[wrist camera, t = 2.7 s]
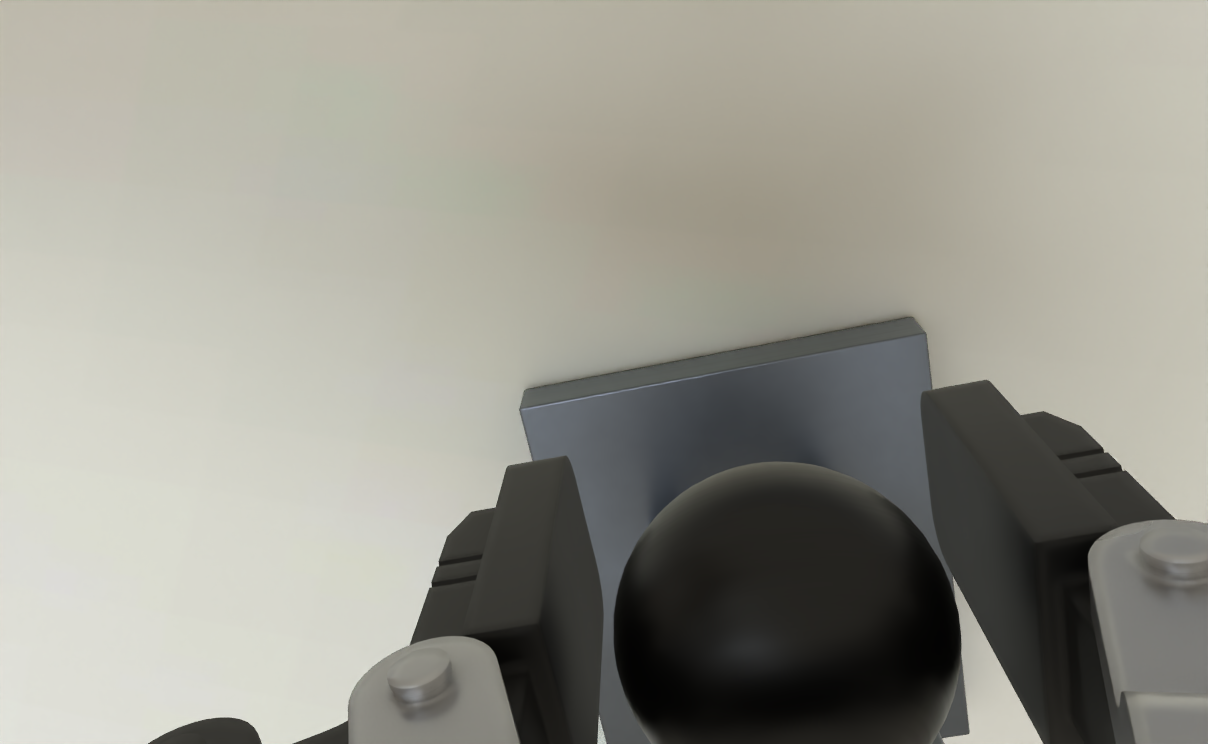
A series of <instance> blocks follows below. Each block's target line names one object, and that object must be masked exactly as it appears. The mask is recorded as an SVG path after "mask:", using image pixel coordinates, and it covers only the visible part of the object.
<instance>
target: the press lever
mask: <svg viewBox="0 0 1208 744" xmlns="http://www.w3.org/2000/svg"><path fill="white" fill-rule="evenodd" d="M614 653H615V660H616V667H617V670H618V674H619V678H620V681H621V685H622V688H623V691H624V695H625V698H626V700H627V702H628V704H629V706H630V708H631V711H632V713H633V715H634V717H635V719H636V720H637V722H638V724H639V726H640V727H641V729H642V730H643V732H644V733H645V735H646V736H647V738H648V740H649V741H650V743H651V744H932V743H933V741H934V740H935V738H936V736H937V734H938V733H939V731H940V729H941V727H942V726H943V724H944V722H945V720H946V718H947V715H948V712H949V710H950V707H951V704H952V702H953V699H954V696H955V691H956V687H957V682H958V677H959V671H960V666H961V631H960V622H959V613H958V609H957V605H956V602H955V598H954V594H953V591H952V588H951V585H950V582H949V579H948V577H947V575H946V572H945V570H944V568H943V566H942V563H941V561H940V560H939V558H938V556H937V555H936V553H935V552H934V550H933V549H932V547H931V545H930V544H929V542H928V541H927V539H926V537H925V536H924V534H923V533H922V532H921V531H920V530H919V528H918V527H917V526H916V525H915V524H914V523H913V522H912V520H911V519H910V518H909V517H908V516H907V515H906V514H905V513H904V512H903V511H902V510H901V509H900V508H898V507H897V506H896V505H895V504H894V503H892V502H891V501H890V500H889V499H888V498H886V497H885V496H883V495H882V494H881V493H879V492H878V491H876V490H875V489H873V488H871V487H869V486H868V485H866V484H864V483H863V482H861V481H859V480H857V479H855V478H853V477H851V476H848V475H845V474H842V473H839V472H837V471H834V470H831V469H828V468H825V467H821V466H817V465H812V464H805V463H797V462H777V461H776V462H761V463H753V464H747V465H743V466H738V467H735V468H731V469H728V470H725V471H722V472H720V473H717V474H715V475H712V476H710V477H708V478H706V479H705V480H703V481H701V482H699V483H697V484H695V485H693V486H691V487H690V488H688V489H687V490H685V491H684V492H682V493H681V494H680V495H679V496H677V497H676V498H675V499H674V500H672V501H671V502H670V503H669V504H668V505H667V506H666V507H665V508H664V509H663V510H662V511H661V512H660V513H659V514H658V515H657V516H656V517H655V518H654V519H653V520H652V522H651V523H650V524H649V526H648V527H647V529H646V530H645V531H644V533H643V534H642V535H641V537H640V538H639V540H638V541H637V543H636V545H635V547H634V549H633V551H632V553H631V555H630V557H629V559H628V561H627V563H626V566H625V568H624V571H623V574H622V577H621V581H620V584H619V588H618V592H617V596H616V602H615V609H614Z"/></svg>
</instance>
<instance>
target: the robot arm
mask: <svg viewBox="0 0 1208 744" xmlns="http://www.w3.org/2000/svg"><path fill="white" fill-rule="evenodd" d="M920 409H921V420H922V429H923V438H924V447H925V456H926V464H927V473H928V482H929V491H930V500H931V508H932V515H933V521H934V526H935V530H936V535H937V538H938V542H939V545H940V548H941V551H942V554H943V557H944V559H945V561H946V563H947V565H948V567H949V569H950V571H951V573H952V575H953V577H954V578H955V580H956V582H957V584H958V586H959V588H960V590H961V591H962V593H963V595H964V597H965V599H966V601H967V603H968V604H969V606H970V608H971V610H972V612H973V614H974V616H975V617H976V619H977V621H978V623H979V625H980V627H981V629H982V630H983V632H984V634H985V636H986V638H987V640H988V642H989V643H990V645H991V647H992V649H993V651H994V653H995V655H996V656H997V658H998V660H999V662H1000V664H1001V666H1002V668H1003V669H1004V671H1005V673H1006V675H1007V677H1008V679H1009V681H1010V682H1011V684H1012V686H1013V688H1014V690H1015V692H1016V694H1017V695H1018V697H1019V699H1020V701H1021V703H1022V705H1023V707H1024V708H1025V710H1026V712H1027V714H1028V716H1029V718H1030V720H1031V721H1032V723H1033V725H1034V727H1035V729H1036V731H1037V733H1038V734H1039V736H1040V738H1041V740H1042V742H1043V744H1208V523H1202V522H1196V521H1186V520H1176V519H1175V518H1174V517H1173V516H1172V515H1171V514H1169V513H1168V512H1167V511H1166V510H1165V509H1164V508H1163V507H1162V506H1161V505H1160V504H1159V503H1158V502H1157V501H1156V500H1155V499H1154V498H1153V497H1152V496H1151V495H1150V494H1149V493H1148V492H1147V491H1146V490H1145V489H1144V488H1143V487H1142V486H1141V485H1140V484H1139V483H1138V482H1137V481H1136V480H1135V479H1134V478H1133V477H1132V476H1131V475H1130V474H1129V473H1128V472H1127V471H1122V468H1121V465H1120V464H1119V463H1118V462H1117V461H1116V460H1115V459H1114V458H1113V457H1112V456H1111V455H1110V454H1109V453H1108V452H1107V453H1104V451H1103V448H1102V447H1101V446H1100V445H1099V444H1098V443H1097V442H1096V441H1095V440H1094V439H1093V438H1092V437H1091V436H1090V435H1089V434H1088V433H1087V432H1086V431H1085V430H1084V429H1083V428H1082V427H1081V426H1079V425H1076V424H1074V423H1071V422H1069V421H1066V420H1064V419H1061V418H1059V417H1056V416H1054V415H1052V414H1049V413H1047V412H1044V411H1043V412H1037V413H1031V414H1026V415H1020V414H1019V413H1018V412H1017V411H1016V410H1015V409H1014V408H1013V407H1012V405H1011V404H1010V403H1009V402H1008V401H1007V400H1006V399H1005V398H1004V397H1003V395H1002V394H1001V393H1000V392H999V391H998V390H997V389H996V388H995V387H994V385H993V384H992V383H991V382H990V381H988V380H983V381H977V382H972V383H966V384H961V385H955V386H949V387H944V388H938V389H933V390H927V391H923V392H922V394H921V400H920ZM431 583H432V588H429V591H428V594H427V597H426V600H425V603H424V605H423V608H422V611H421V614H420V617H419V620H418V623H417V626H416V629H415V631H414V634H413V637H412V640H411V643H410V645H409V646H407V647H404V648H402V649H400V650H398V651H396V652H394V653H392V654H391V655H389V656H387V657H386V658H384V659H383V660H381V661H380V662H378V663H377V664H376V665H374V666H373V667H372V668H371V669H370V670H369V671H368V672H367V673H366V674H364V676H363V677H362V678H361V679H360V680H359V682H358V683H357V684H356V686H355V688H354V689H353V691H352V693H351V696H350V699H349V704H348V721H346V722H344V723H343V724H341V725H339V726H337V727H334V728H332V729H330V730H327V731H325V732H323V733H320V734H317V735H315V736H312V737H309V738H307V739H304V740H302V741H299V742H296V743H294V744H597V738H598V719H599V700H600V681H601V662H602V643H603V624H604V609H603V597H602V589H601V583H600V577H599V572H598V567H597V563H596V559H595V555H594V551H593V547H592V543H591V539H590V535H589V531H588V527H587V523H586V519H585V515H584V511H583V507H582V503H581V498H580V494H579V490H578V486H577V482H576V478H575V475H574V471H573V468H572V465H571V462H570V460H569V458H568V457H567V456H566V455H565V456H560V457H554V458H549V459H543V460H538V461H532V462H526V463H521V464H515V465H510V466H508V467H507V469H506V472H505V475H504V479H503V483H502V486H501V490H500V494H499V497H498V501H497V505H496V508H491V509H485V510H479V511H474V512H471V513H470V514H469V515H468V516H467V517H466V518H465V519H464V520H463V521H462V522H461V523H460V524H459V525H458V526H457V527H456V528H455V529H454V530H453V531H452V532H451V533H450V534H449V535H448V536H447V539H446V542H445V545H444V548H443V551H442V553H441V556H440V559H439V567H437V568H436V571H435V574H434V577H433V579H432V582H431ZM148 744H262V743H261V740H260V738H259V736H258V733H257V732H256V730H255V728H254V727H253V726H252V725H250V724H249V723H248V722H245V721H243V720H240V719H235V718H213V719H206V720H202V721H198V722H194V723H191V724H188V725H185V726H182V727H179V728H177V729H175V730H173V731H170V732H168V733H166V734H164V735H162V736H160V737H159V738H157V739H155V740H153V741H152V742H150V743H148Z"/></svg>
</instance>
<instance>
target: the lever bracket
mask: <svg viewBox="0 0 1208 744" xmlns="http://www.w3.org/2000/svg"><path fill="white" fill-rule="evenodd" d="M927 390H932V381H931V371H930V362H929V353H928V344H927V334H926V332H925V331H924V330H923V329H922V328H921V326H920V325H919V324H918V323H917V322H916V321H915V319H914V318H913V317H909V318H904V319H898V320H893V321H888V322H883V323H877V324H872V325H867V326H861V327H856V328H851V329H845V330H840V331H835V332H830V333H824V334H819V335H814V336H808V337H803V338H798V339H792V340H787V341H782V342H776V343H771V344H766V345H761V346H755V347H750V348H745V349H739V350H734V351H729V352H723V353H718V354H713V355H708V356H702V357H697V358H692V359H686V360H681V361H676V362H670V363H665V364H660V365H655V366H649V367H644V368H639V369H633V370H628V371H623V372H617V373H612V374H607V375H602V376H596V377H591V378H586V379H580V380H575V381H570V382H564V383H559V384H554V385H549V386H543V387H538V388H533V389H527V390H525V391H524V394H523V398H522V401H521V405H520V409H519V411H520V415H521V418H522V422H523V426H524V430H525V434H526V437H527V441H528V445H529V449H530V453H531V457H532V460H533V461H538V460H543V459H549V458H554V457H560V456H565V455H566V456H567V457H568V458H569V460H570V462H571V465H572V468H573V471H574V475H575V478H576V482H577V486H578V490H579V494H580V498H581V503H582V507H583V511H584V515H585V519H586V523H587V527H588V531H589V535H590V539H591V543H592V547H593V551H594V555H595V559H596V563H597V567H598V572H599V577H600V583H601V589H602V597H603V609H604V624H603V643H602V662H601V681H600V700H599V716H600V720H601V724H602V728H603V731H604V735H605V739H606V743H607V744H651V743H650V741H649V740H648V738H647V736H646V735H645V733H644V732H643V730H642V729H641V727H640V726H639V724H638V722H637V720H636V719H635V717H634V715H633V713H632V711H631V708H630V706H629V704H628V702H627V700H626V698H625V695H624V691H623V688H622V685H621V681H620V678H619V674H618V670H617V667H616V660H615V653H614V609H615V602H616V596H617V592H618V588H619V584H620V581H621V577H622V574H623V571H624V568H625V566H626V563H627V561H628V559H629V557H630V555H631V553H632V551H633V549H634V547H635V545H636V543H637V541H638V540H639V538H640V537H641V535H642V534H643V533H644V531H645V530H646V529H647V527H648V526H649V524H650V523H651V522H652V520H653V519H654V518H655V517H656V516H657V515H658V514H659V513H660V512H661V511H662V510H663V509H664V508H665V507H666V506H667V505H668V504H669V503H670V502H671V501H672V500H674V499H675V498H676V497H677V496H679V495H680V494H681V493H682V492H684V491H685V490H687V489H688V488H690V487H691V486H693V485H695V484H697V483H699V482H701V481H703V480H705V479H706V478H708V477H710V476H712V475H715V474H717V473H720V472H722V471H725V470H728V469H731V468H735V467H738V466H743V465H747V464H753V463H761V462H776V461H777V462H797V463H805V464H812V465H817V466H821V467H825V468H828V469H831V470H834V471H837V472H839V473H842V474H845V475H848V476H851V477H853V478H855V479H857V480H859V481H861V482H863V483H864V484H866V485H868V486H869V487H871V488H873V489H875V490H876V491H878V492H879V493H881V494H882V495H883V496H885V497H886V498H888V499H889V500H890V501H891V502H892V503H894V504H895V505H896V506H897V507H898V508H900V509H901V510H902V511H903V512H904V513H905V514H906V515H907V516H908V517H909V518H910V519H911V520H912V522H913V523H914V524H915V525H916V526H917V527H918V528H919V530H920V531H921V532H922V533H923V534H924V536H925V537H926V539H927V541H928V542H929V544H930V545H931V547H932V549H933V550H934V552H935V553H936V555H937V556H938V558H939V560H940V561H941V563H942V566H943V568H944V570H945V572H946V575H947V577H948V579H949V582H950V585H951V588H952V591H953V594H954V598H955V593H954V584H953V575H952V573H951V571H950V569H949V567H948V565H947V563H946V561H945V559H944V557H943V554H942V551H941V548H940V545H939V542H938V538H937V535H936V530H935V526H934V521H933V515H932V508H931V500H930V491H929V482H928V473H927V464H926V456H925V447H924V438H923V429H922V420H921V409H920V400H921V394H922V392H923V391H927ZM966 734H969V723H968V713H967V704H966V695H965V686H964V676H963V667H962V658H961V666H960V671H959V677H958V682H957V687H956V691H955V696H954V699H953V702H952V704H951V707H950V710H949V712H948V715H947V718H946V720H945V722H944V724H943V726H942V727H941V729H940V731H939V733H938V734H937V736H936V738H935V740H934V741H933V743H932V744H944V742H943V740H942V738H946V737H953V736H960V735H966Z"/></svg>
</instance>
